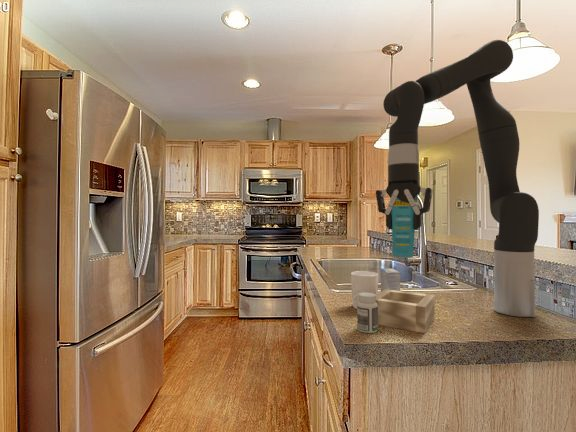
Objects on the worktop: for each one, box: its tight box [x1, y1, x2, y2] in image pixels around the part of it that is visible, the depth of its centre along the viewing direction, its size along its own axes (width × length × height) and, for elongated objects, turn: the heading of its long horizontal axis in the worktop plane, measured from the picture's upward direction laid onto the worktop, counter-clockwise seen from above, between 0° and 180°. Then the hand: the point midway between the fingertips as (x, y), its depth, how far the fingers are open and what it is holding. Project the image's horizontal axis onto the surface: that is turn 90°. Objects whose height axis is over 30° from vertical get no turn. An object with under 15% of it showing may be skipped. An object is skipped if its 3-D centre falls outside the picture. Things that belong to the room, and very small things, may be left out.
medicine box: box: [380, 268, 401, 292], centre depth 110 cm, size 8×4×9 cm, turn 179°
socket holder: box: [375, 289, 436, 334], centre depth 84 cm, size 13×13×6 cm
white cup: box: [350, 270, 379, 310], centre depth 96 cm, size 8×8×10 cm
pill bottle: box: [356, 293, 379, 334], centre depth 77 cm, size 5×5×8 cm
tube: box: [389, 194, 419, 259], centre depth 84 cm, size 7×5×19 cm, turn 72°
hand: (403, 229), depth 84 cm, fingers closed on tube, 6 cm apart
